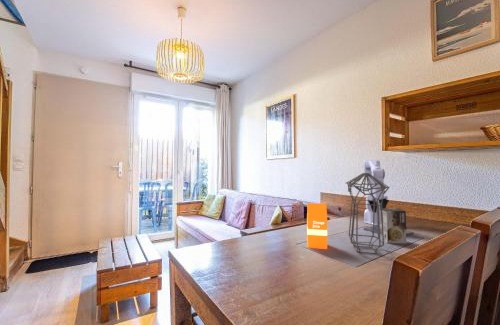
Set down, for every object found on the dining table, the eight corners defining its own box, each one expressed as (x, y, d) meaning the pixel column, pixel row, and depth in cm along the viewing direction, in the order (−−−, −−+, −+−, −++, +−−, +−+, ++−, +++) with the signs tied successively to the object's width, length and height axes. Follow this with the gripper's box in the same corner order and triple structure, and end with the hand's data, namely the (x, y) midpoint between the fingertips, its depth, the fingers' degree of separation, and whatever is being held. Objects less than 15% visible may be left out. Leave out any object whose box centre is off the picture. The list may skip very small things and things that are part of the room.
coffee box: (399, 239, 122) (399, 208, 122) (406, 244, 115) (406, 210, 115) (381, 239, 123) (381, 208, 123) (387, 243, 116) (386, 210, 116)
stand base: (363, 229, 141) (363, 221, 141) (383, 226, 149) (383, 218, 149) (393, 237, 125) (393, 228, 125) (413, 233, 133) (413, 225, 133)
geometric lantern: (379, 246, 112) (380, 172, 112) (389, 259, 97) (391, 174, 96) (343, 242, 116) (345, 171, 116) (348, 255, 101) (349, 173, 101)
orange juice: (327, 249, 108) (327, 205, 108) (307, 247, 110) (307, 204, 110) (325, 243, 116) (325, 202, 116) (306, 242, 117) (306, 201, 118)
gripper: (376, 189, 136) (376, 213, 135) (392, 189, 142) (392, 212, 142) (365, 189, 142) (365, 211, 142) (381, 188, 149) (381, 210, 148)
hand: (378, 211), depth 142 cm, fingers open, 7 cm apart
